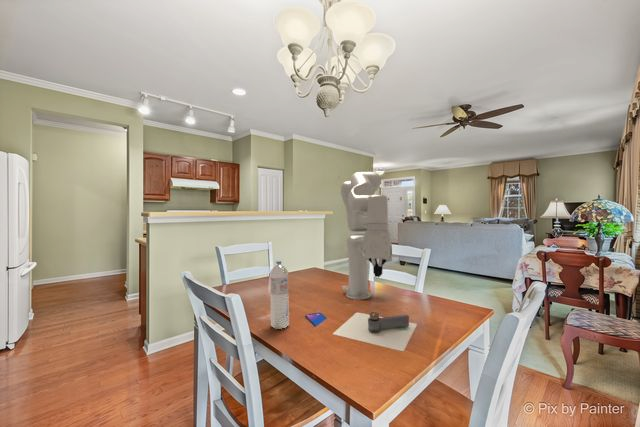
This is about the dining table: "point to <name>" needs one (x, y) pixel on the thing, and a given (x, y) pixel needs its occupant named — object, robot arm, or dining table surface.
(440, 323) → the dining table surface
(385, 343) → the dial plate
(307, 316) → the smartphone
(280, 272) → the water bottle
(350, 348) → the dining table surface
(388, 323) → the grey lever handle
